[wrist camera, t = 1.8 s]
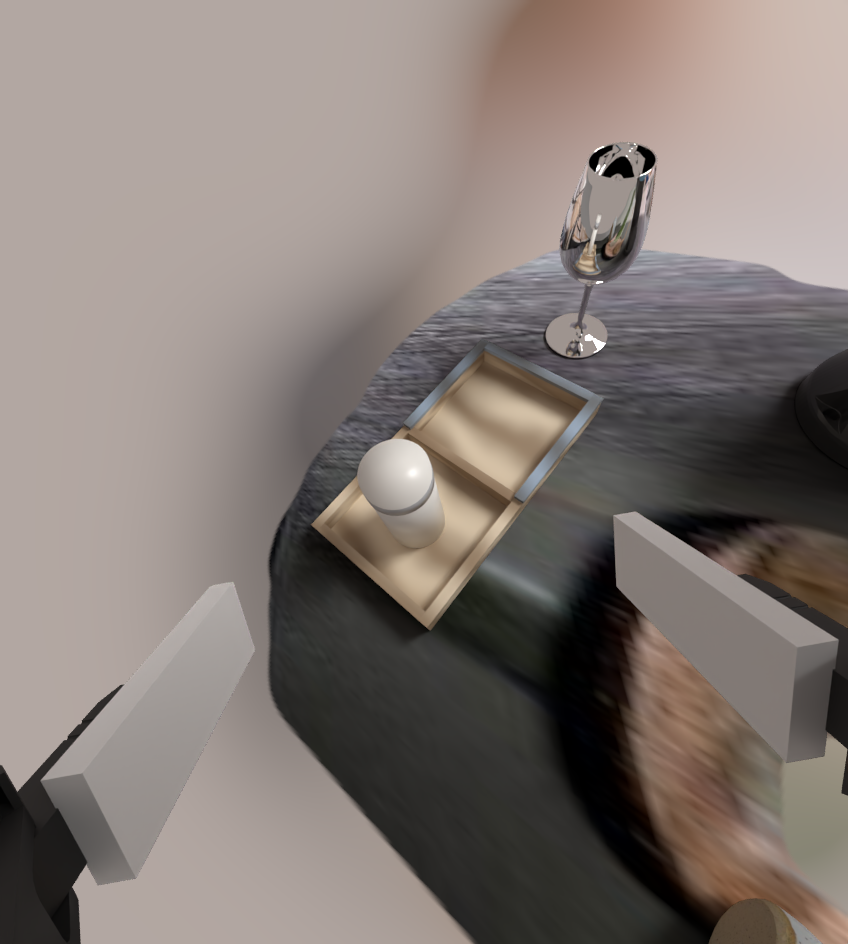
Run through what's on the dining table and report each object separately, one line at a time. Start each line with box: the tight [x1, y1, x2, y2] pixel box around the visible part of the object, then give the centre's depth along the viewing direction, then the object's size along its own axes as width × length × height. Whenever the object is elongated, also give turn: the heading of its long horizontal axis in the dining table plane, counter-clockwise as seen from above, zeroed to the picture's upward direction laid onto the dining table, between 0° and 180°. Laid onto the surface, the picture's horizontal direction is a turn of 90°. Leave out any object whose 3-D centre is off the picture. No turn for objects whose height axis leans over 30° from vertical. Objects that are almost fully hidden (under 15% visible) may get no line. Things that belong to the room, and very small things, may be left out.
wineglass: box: [545, 142, 657, 358], centre depth 43 cm, size 8×8×20 cm
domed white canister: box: [357, 439, 445, 549], centre depth 38 cm, size 6×6×12 cm
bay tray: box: [311, 339, 603, 630], centre depth 44 cm, size 30×16×3 cm, turn 140°
